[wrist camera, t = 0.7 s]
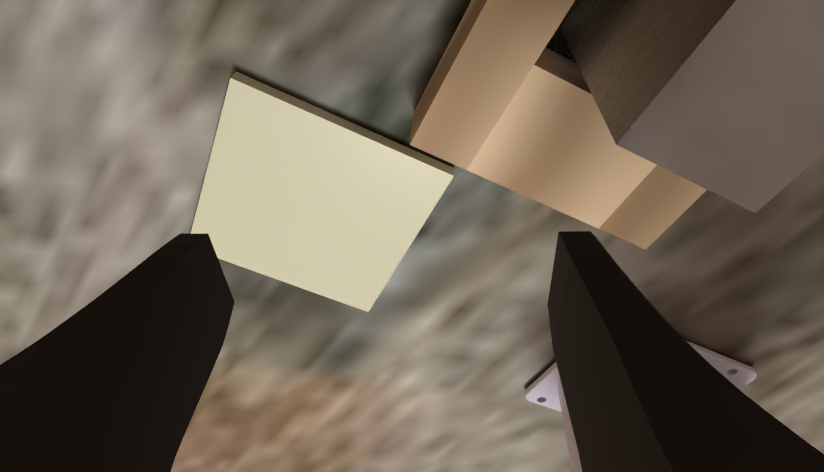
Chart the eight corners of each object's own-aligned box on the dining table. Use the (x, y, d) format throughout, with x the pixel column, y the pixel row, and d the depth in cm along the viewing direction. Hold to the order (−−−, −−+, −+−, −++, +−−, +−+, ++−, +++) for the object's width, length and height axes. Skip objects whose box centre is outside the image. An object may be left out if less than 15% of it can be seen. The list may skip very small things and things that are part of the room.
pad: (453, 168, 21) (453, 175, 21) (370, 303, 27) (368, 312, 26) (235, 71, 19) (230, 77, 19) (192, 238, 25) (187, 247, 24)
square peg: (745, -36, 16) (925, 63, 10) (654, 76, 19) (755, 213, 12) (640, -103, 15) (767, -38, 9) (558, 24, 18) (615, 144, 11)
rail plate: (985, -169, 14) (1071, -165, 12) (628, 210, 22) (645, 249, 20) (686, -415, 12) (732, -458, 10) (413, 111, 20) (409, 144, 18)
